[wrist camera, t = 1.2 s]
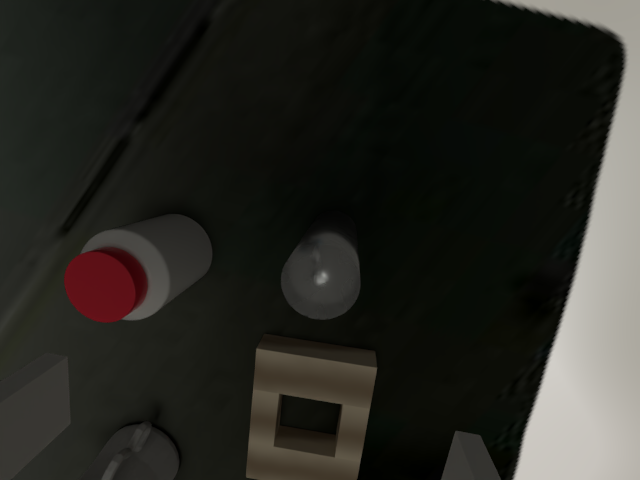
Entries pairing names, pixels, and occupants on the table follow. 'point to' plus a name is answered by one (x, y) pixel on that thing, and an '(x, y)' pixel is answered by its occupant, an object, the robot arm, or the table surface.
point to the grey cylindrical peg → (324, 268)
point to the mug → (135, 456)
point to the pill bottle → (137, 268)
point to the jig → (313, 383)
